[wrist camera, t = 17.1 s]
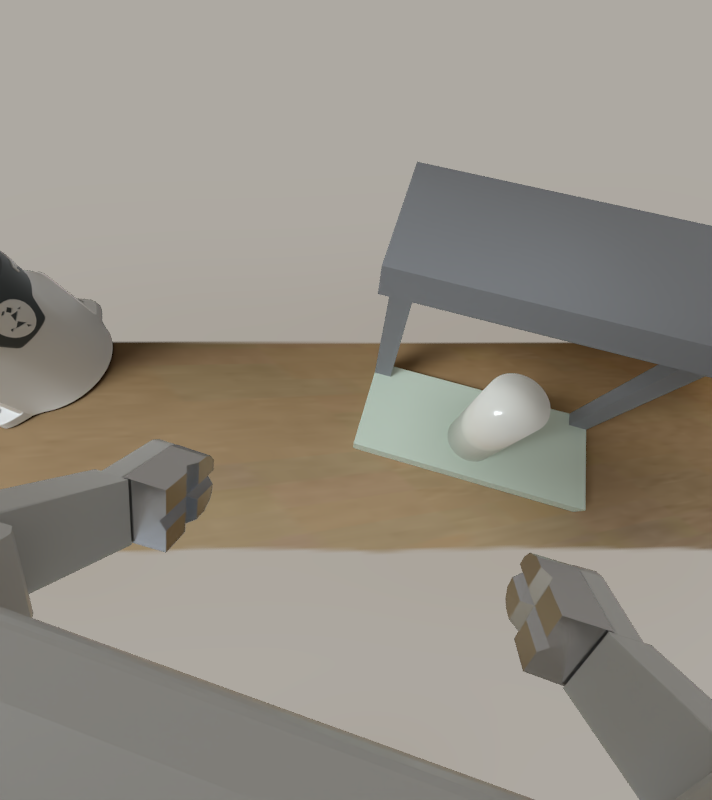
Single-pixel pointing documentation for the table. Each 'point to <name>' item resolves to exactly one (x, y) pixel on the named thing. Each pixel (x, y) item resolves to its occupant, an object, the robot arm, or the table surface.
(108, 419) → the table surface
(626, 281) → the grey frame
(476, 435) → the white cylinder
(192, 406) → the table surface
